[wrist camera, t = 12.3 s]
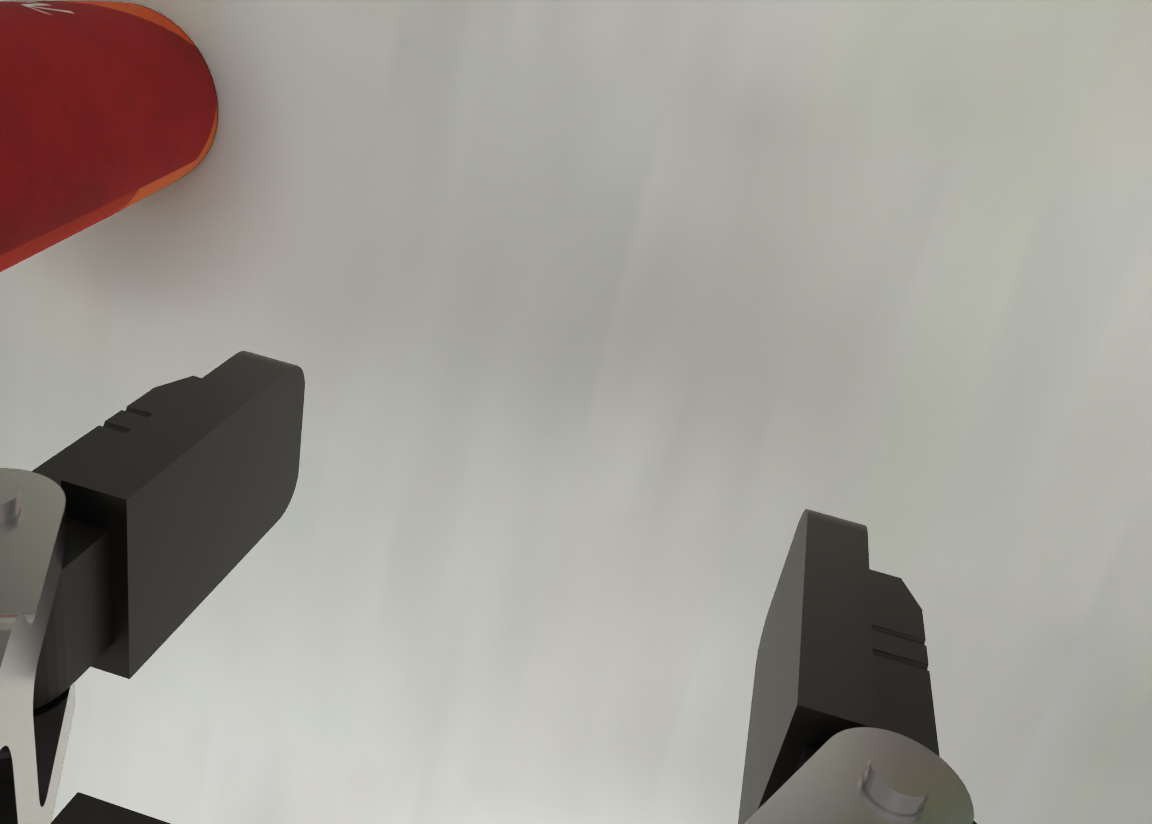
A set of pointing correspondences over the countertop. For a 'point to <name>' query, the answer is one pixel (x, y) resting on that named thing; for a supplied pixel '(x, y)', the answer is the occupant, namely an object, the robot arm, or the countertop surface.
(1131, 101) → the countertop surface
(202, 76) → the paper cup
